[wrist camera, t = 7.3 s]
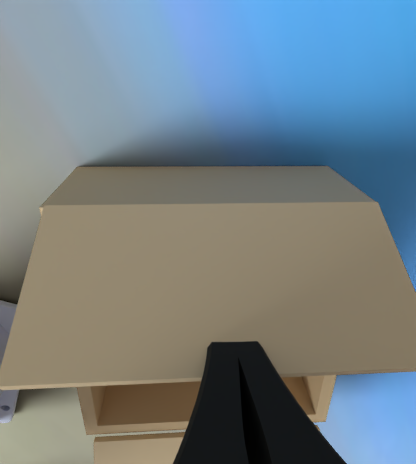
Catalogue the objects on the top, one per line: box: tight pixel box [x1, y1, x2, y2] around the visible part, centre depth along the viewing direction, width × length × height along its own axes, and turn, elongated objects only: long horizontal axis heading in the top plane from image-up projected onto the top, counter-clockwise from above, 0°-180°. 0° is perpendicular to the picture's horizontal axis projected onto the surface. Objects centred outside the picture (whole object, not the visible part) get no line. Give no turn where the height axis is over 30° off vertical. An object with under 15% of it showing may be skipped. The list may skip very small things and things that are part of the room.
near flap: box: [0, 202, 416, 390], centre depth 11 cm, size 6×11×1 cm
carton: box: [39, 166, 376, 435], centre depth 17 cm, size 12×12×5 cm
